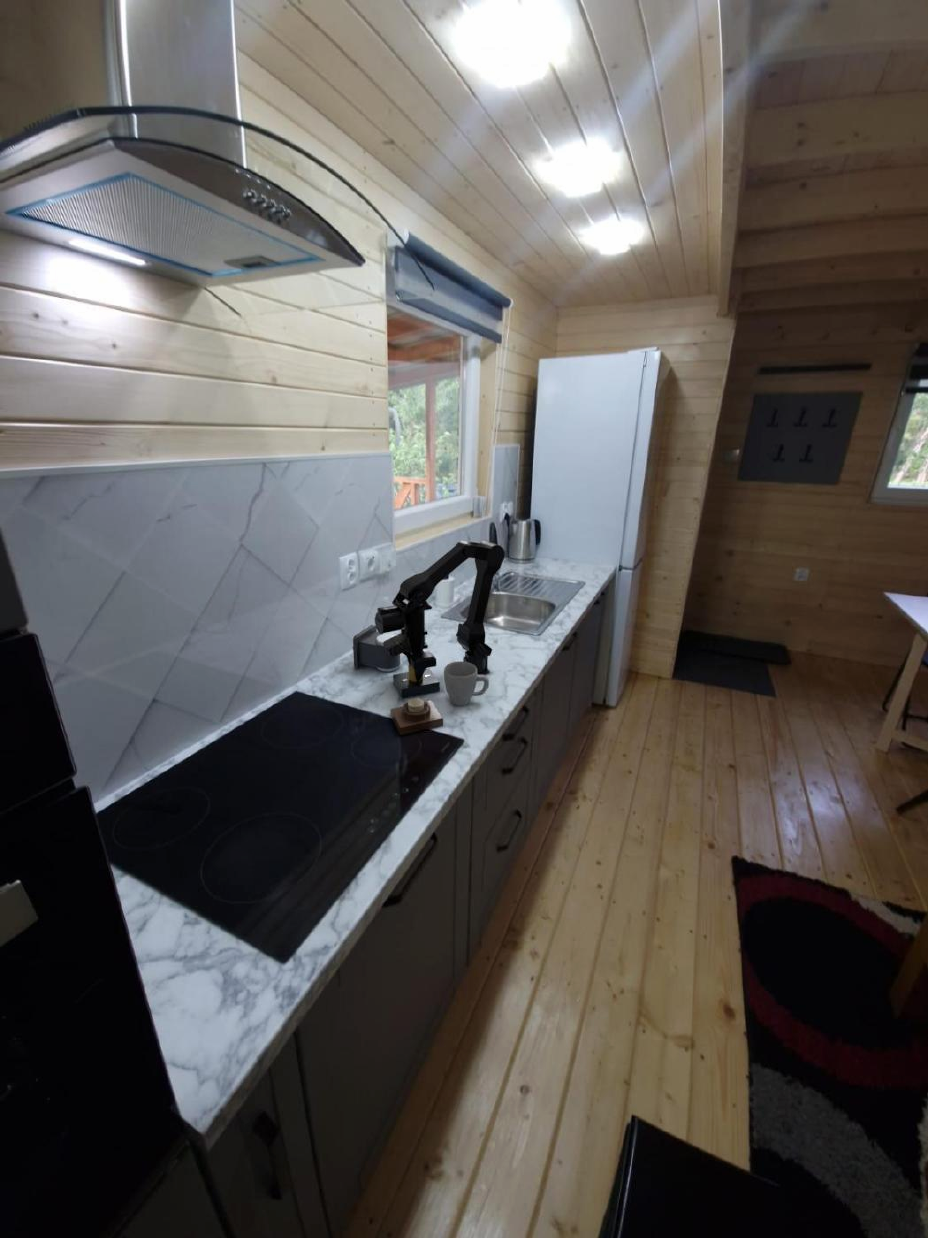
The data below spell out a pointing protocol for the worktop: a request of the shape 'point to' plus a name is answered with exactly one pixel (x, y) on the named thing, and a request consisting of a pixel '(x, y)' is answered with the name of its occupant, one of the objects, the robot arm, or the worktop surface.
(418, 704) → the button
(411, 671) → the dimmer knob
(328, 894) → the worktop surface
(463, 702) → the mug
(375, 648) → the light fixture
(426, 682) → the dimmer panel
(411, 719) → the switch block
